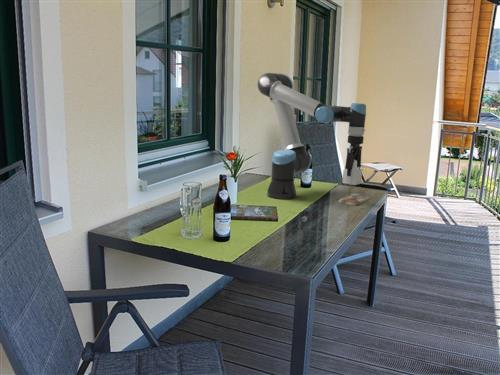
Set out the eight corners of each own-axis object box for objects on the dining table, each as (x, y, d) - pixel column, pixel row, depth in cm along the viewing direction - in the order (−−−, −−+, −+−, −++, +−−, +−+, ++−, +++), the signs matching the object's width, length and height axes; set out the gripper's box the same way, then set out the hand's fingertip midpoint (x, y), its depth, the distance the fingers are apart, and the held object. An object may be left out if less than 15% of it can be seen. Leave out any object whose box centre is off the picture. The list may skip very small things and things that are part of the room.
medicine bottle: (348, 181, 251) (350, 158, 249) (361, 183, 247) (363, 159, 244) (342, 183, 245) (344, 159, 243) (355, 185, 241) (357, 161, 239)
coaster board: (337, 202, 247) (338, 199, 247) (352, 196, 264) (353, 192, 264) (354, 205, 243) (355, 202, 242) (369, 198, 259) (369, 195, 259)
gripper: (355, 137, 231) (351, 185, 236) (370, 134, 247) (366, 179, 252) (340, 135, 235) (336, 183, 240) (356, 133, 251) (352, 177, 256)
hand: (351, 181), depth 246 cm, fingers closed on medicine bottle, 7 cm apart
